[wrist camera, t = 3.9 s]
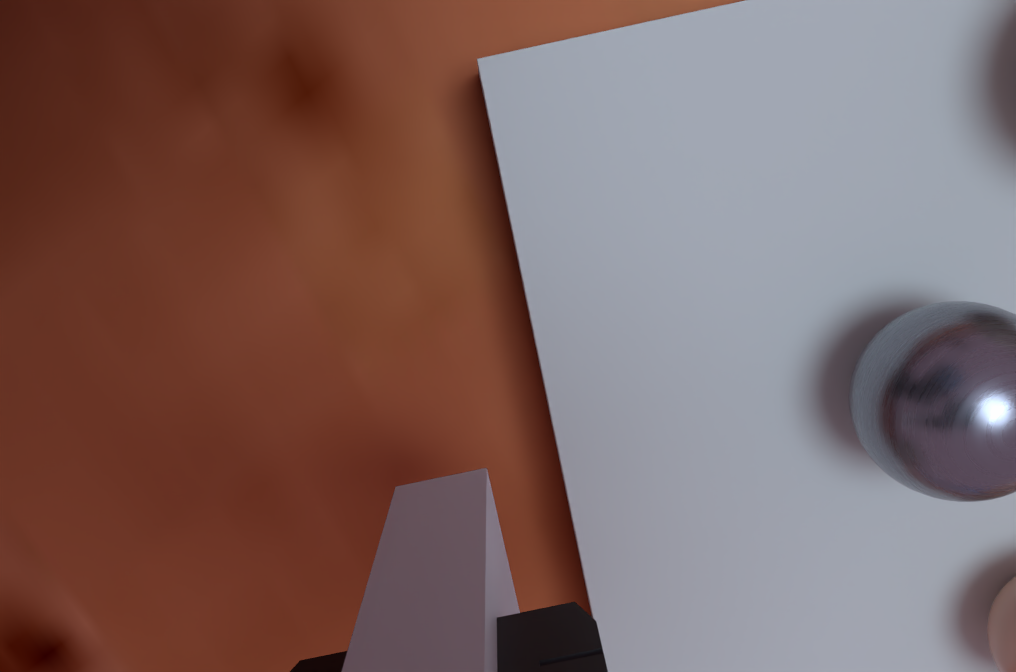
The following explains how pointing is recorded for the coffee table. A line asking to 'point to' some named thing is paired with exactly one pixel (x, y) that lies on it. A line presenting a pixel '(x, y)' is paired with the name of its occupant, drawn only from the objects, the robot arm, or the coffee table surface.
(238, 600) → the coffee table surface
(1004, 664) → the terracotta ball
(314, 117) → the coffee table surface
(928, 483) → the steel ball
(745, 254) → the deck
